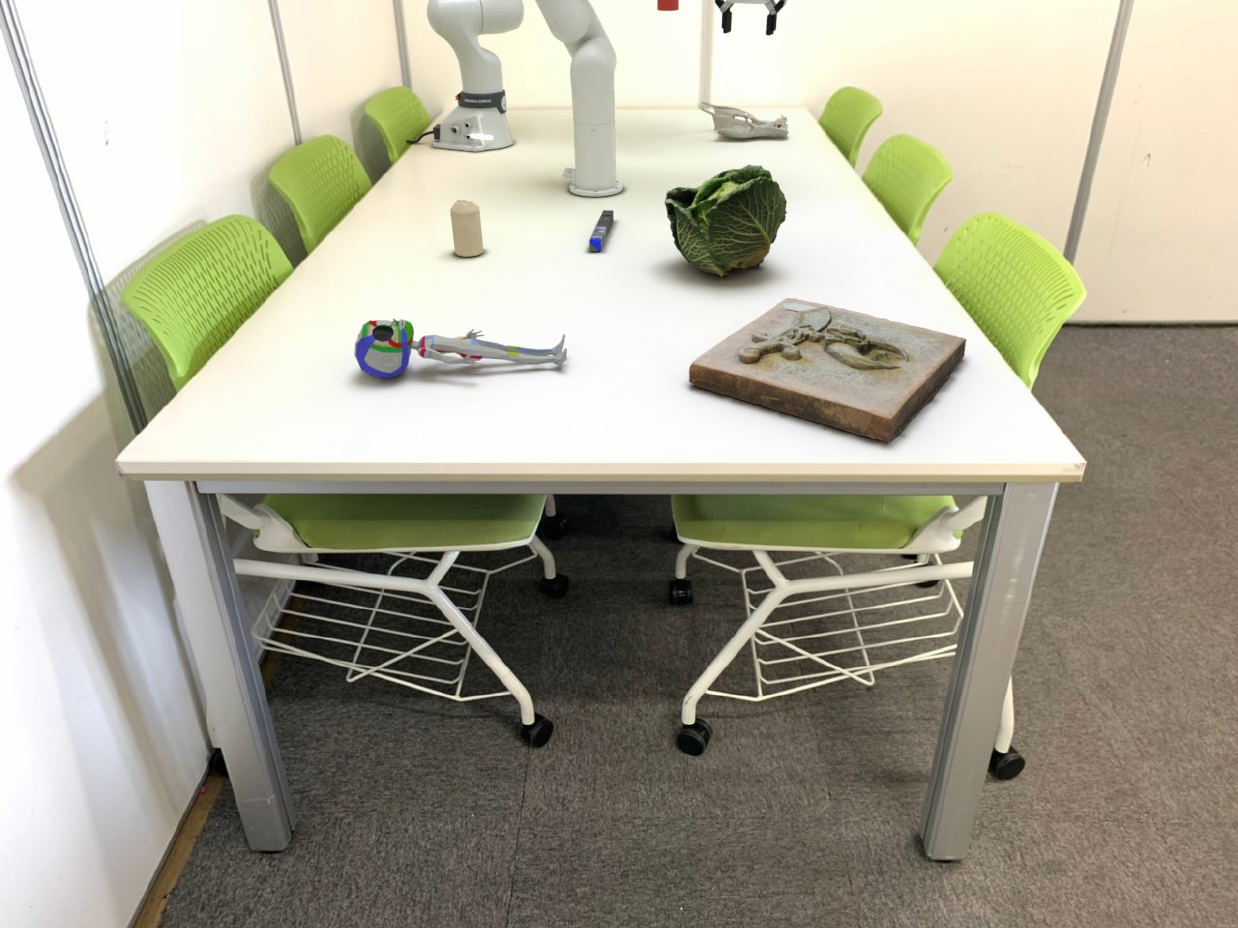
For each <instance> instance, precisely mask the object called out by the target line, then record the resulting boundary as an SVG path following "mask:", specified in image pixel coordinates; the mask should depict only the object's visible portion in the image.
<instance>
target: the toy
mask: <svg viewBox="0 0 1238 928" xmlns="http://www.w3.org/2000/svg"><path fill="white" fill-rule="evenodd" d="M474 331H475V328H472V329H471V330H469V331H468V332H467V333H466V334H465V335H463V336H458V337H449V336H448V337H447V336H442V335H439V334H428V335H423V336H421V338H420V339H419V341H417V340H414V336H415V329H414V326H413V324H412V322H410V321H408V320H407V319H399V320H397V319H395V318H392V320H387V319H379V320H368V321H367V322H365V323H364V324H362V326H361V329H360V331H359V333H358V334H357V338H356V340H355V342H354V354H353V355H354V357H355V359H356V362H357V364H358V366H359V369H360V370H361V372H364V373H366V374H367V375H370V376H373V377H377V378H382V379H383V378H384V379H392V378H394V377H396V376H398V375H400V374H401V375H402V374H403V372H404V371H405V370H406V368H407V367H408V366H409V364H410V357H411V355H412V350H415V351H417V353H418V356H419V357H421V358H422V359H430V360H434V361H438V362H442V363H444V364H449V365H458V364H459V365H461V364H465V365H471V366H477V367H479V368H480V367H481V366H482V365H483V363H482V362H478V361H480V360H482V359H487V360H488V359H489V360H503V361H509V362H514V363H517V364H520V365H528V366H529V365H542V364H550V363H553V364H555V365H557V366H559V367H562V366H563V364H564V362H565V361H566V360H567V357H568V355H567V353H568V348H566V347H565V348H564V345H565V340H566V334H565V333H563V334H562V338H561V340H560V341H559V343H558V344H556V345H555V346H554V347H552V348H533V347H532V348H531V347H523V346H518V345H517V346H516V345H504V344H501V343H498V342H494V341H488V340H482V339H478V338H479V337H480V338H481V337H485V334H480V333H482V332H483V331H482V330H479V331H476V332H474ZM563 349H564V350H563ZM453 353H455V354H457V355H459V357H458V356H455V355H448V354H453ZM445 354H447V355H445Z"/></svg>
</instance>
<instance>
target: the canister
mask: <svg viewBox="0 0 1238 928" xmlns="http://www.w3.org/2000/svg"><path fill="white" fill-rule="evenodd" d="M679 4H680V0H656V10H657V11H660V12H673V11H679V10H680V9H679V7H680V5H679Z"/></svg>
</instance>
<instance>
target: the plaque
mask: <svg viewBox="0 0 1238 928" xmlns="http://www.w3.org/2000/svg"><path fill="white" fill-rule="evenodd" d="M966 345H967V339H966V338H964V337H960V336H957V335H953V334H949V333H946V332H941V331H937V330H933V329H930V328H926V327H921V326H917V325H912V324H908V323H904V322H901V321H894V320H889V319H887V318H882V317H876V316H873V315H870V314H867V313H863V312H859V311H855V310H850V309H847V308H841V307H836V306H833V305H829V304H824V303H823V304H822V303H818V302H814V301H808V300H804V299H803V300H802V299H798V298H792V297H786V298H784V299H783V300H782V301H780V302H778V303H777V304H776V305H775V306H773V307H771V308H770V309H769V310H767V311H766V312H765V313H763V314H762V315H760V316H759V317H757V318H756V319H754V320H752V321H751V322H750V323H748V324H746V325H745V326H743V327H741V328H739V329H738V330H737V331H735V332H734V333H732V334H730V335H728V336H727V337H725V338H724V339H723V340H721V341H720V342H718V343H716V344H715V345H714V346H713V347H711V348H710V349H708V350H707V351H705V352H704V353H702V354H701V355H700V356H698V357H697V358H696V359H694V360H693V361H692V363H690V366H689V369H688V382H689V383H690V384H692V385H693V386H695V387H698V388H701V389H705V390H707V391H711V392H713V393H716V394H720V395H724V396H729V397H732V398H735V399H737V400H741V401H745V402H748V403H752V404H755V405H758V406H762V407H765V408H767V409H771V410H773V411H777V412H780V413H785V414H789V415H792V416H796V417H798V418H800V419H804V420H807V421H812V422H816V423H820V424H823V425H826V426H830V427H834V428H836V429H839V430H842V431H846V432H848V433H852V434H856V435H859V436H861V437H862V436H863V437H866V438H869V439H873V440H880V441H882V442H885V443H887V444H889V443H890V441H891V440H892V439H893V438H895V437H896V436H897V435H899V434H900V433H901V432H902V431H903V430H904V429H905V428H907V426H908V425H909V423H910V422H911V421H912V420H913V418H914V417H915V416H916V415H917V414H918V413H919V412H920V410H921V409H922V408H923V407H924V406H925V405H926V404H927V403H928V402H930V401H931V400H933V399H934V397H935V396H936V394H937V393H938V391H939V390H940V389H941V387H943V385H944V384H945V383H946V382H947V381H948V380H949V378H950V376H951V375H952V373H953V370H954V369H955V368H956V367H957V366H958V364H959V362H961V361H962V360H963V358H965V353H966V347H967V346H966Z"/></svg>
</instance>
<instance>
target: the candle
mask: <svg viewBox="0 0 1238 928" xmlns="http://www.w3.org/2000/svg"><path fill="white" fill-rule="evenodd" d="M449 212H450V213H449V214H450V222H451V228H452V231H451V232H452V239H453V247H454V253H455V255H457V256H459V257H465V258H466V257H467V258H468V257H475V256H479V255H481V254H483V252H484V242H483V234H482V233H483V232H482V231H483V230H482V222H481V221H482V220H481V212H480V207H479V205H478V204H476V203H475V202H474V201H472V200H470V201H468V200H465V199H464V200H462V199H457V200H456V201H455V202H454V203H453V205H452V206H451V207H450V209H449Z"/></svg>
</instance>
